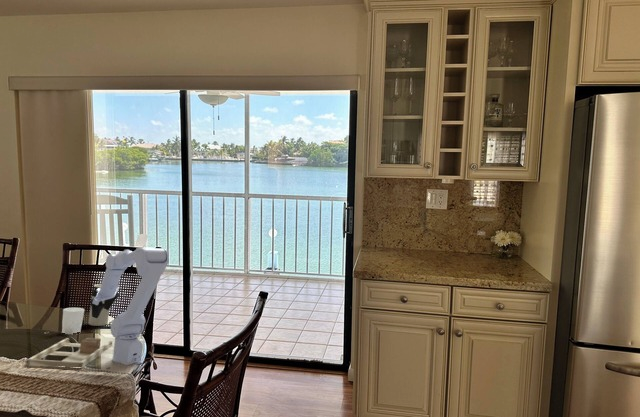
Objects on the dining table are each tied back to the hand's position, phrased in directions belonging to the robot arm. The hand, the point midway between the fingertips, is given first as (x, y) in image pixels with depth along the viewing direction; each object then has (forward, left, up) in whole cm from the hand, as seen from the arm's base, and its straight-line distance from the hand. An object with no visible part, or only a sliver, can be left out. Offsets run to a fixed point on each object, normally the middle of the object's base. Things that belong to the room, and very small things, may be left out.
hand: (100, 312), depth 169 cm
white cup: (+23, -4, -13) cm, 27 cm away
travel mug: (+30, -21, -13) cm, 39 cm away
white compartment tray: (-6, +13, -13) cm, 20 cm away
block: (-6, +7, -12) cm, 15 cm away
